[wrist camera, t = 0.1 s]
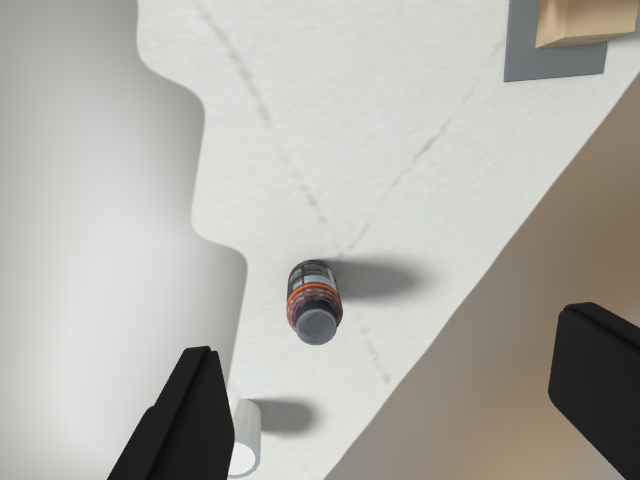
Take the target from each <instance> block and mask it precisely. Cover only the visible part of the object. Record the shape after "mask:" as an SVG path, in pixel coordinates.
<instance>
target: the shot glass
mask: <svg viewBox="0 0 640 480" xmlns="http://www.w3.org/2000/svg"><path fill="white" fill-rule="evenodd" d="M229 406H230V411H231V415H232V420H233V424H234V430H235V443H234V448H233V453H232V458H231V463H230V467H229V472H228V477H227V478H241V477H245V476H248V475H249V474H251V473H252V472H254V471H255V470H256V468H257V467H258V465H259V464H260V448H261V410H260V408H259V406H258V405H257V404H256V403H254V402H253V401H250V400H247V399H237V400H233V401H231V402H230V403H229Z"/></svg>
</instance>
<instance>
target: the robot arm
mask: <svg viewBox="0 0 640 480" xmlns="http://www.w3.org/2000/svg"><path fill="white" fill-rule="evenodd" d="M548 394H549V397H550V400H551V401H552V403H553V404H554V406H555V407H556V408H557V409H558V410H559V411H560V412H561V413H562V414H563V415H564V416H565V417H566V418H567V419H568V420H569V421H570V422H571V423H572V424H573V425H574V426H575V427H576V428H577V429H578V430H579V431H580V432H581V434H582V435H583V436H584V437H585V438H586V439H587V440H588V441H589V442H590V443H591V444H592V445H593V446H594V447H595V448H596V449H597V450H598V451H599V452H600V453H601V454H602V455H603V456H604V457H605V458H606V459H607V460H608V462H609V463H611V465H612V466H613V467H614V468H615V469H616V470H617V471H618V472H619V473H620V474H621V475H622V476H623V477H624V478H625V479H626V480H640V328H639V327H637V326H635V325H634V324H632V323H630V322H628V321H626V320H625V319H623V318H621V317H619V316H617V315H615V314H613V313H612V312H610V311H608V310H606V309H604V308H603V307H601V306H599V305H597V304H595V303H592V302H586V303H577V304H569V305H567V306H566V307H565V308H564V309H563V311H561V313H560V314H559V319H558V325H557V332H556V339H555V347H554V353H553V360H552V367H551V374H550V381H549V387H548ZM234 443H235V430H234V424H233V420H232V415H231V411H230V406H229V401H228V397H227V392H226V387H225V383H224V378H223V374H222V369H221V364H220V360H219V355H218V352H217V351H211V349H210V347H209V346H201V347H193V348H187V349H185V350H184V351H183V354H182V355H181V357H180V359H179V361H178V362H177V364H176V366H175V368H174V370H173V372H172V374H171V375H170V377H169V379H168V381H167V383H166V384H165V386H164V388H163V390H162V392H161V394H160V395H159V397H158V399H157V401H156V403H155V405H154V406H151V407H150V408H149V409H148V410H147V411H146V412H145V414H144V415H143V417H142V418H141V420H140V422H139V424H138V425H137V427H136V429H135V431H134V432H133V434H132V436H131V438H130V440H129V441H128V443H127V445H126V447H125V448H124V450H123V452H122V454H121V456H120V457H119V459H118V461H117V463H116V464H115V466H114V468H113V470H112V472H111V473H110V475H109V477H108V478H107V480H227V477H228V472H229V467H230V463H231V458H232V453H233V448H234Z"/></svg>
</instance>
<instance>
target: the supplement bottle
mask: <svg viewBox="0 0 640 480" xmlns="http://www.w3.org/2000/svg"><path fill="white" fill-rule="evenodd" d="M342 315H343V308H342V303H341V300H340V295H339V293H338V289H337V285H336V281H335V278H334V275H333V273H332V271H331V270H330V269H329V267H328V266H326V265H325V264H323V263H322V262H319V261H312V260H310V261H304V262H302V263H300V264H298V265H297V266H296V267H295V268H294V269H293V270H292V272H291V273H290V276H289V280H288V292H287V319H288V322H289V324H290V326H291V327H292V329H293V330H294V331H295V332H296V333H297V335H298V337H299V338H300V339H301V340H302V341H303V342H305V343H307V344H310V345H322V344H324V343H326V342H328V341H329V340H331V339H332V338H333V336H334V335H335V333H336V330H337V327H338V326H339V324H340V322H341V319H342Z"/></svg>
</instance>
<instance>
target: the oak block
mask: <svg viewBox="0 0 640 480" xmlns="http://www.w3.org/2000/svg"><path fill="white" fill-rule="evenodd" d="M639 2H640V0H540V6H539V16H538V26H537V36H536V46H535V49H537V48H549V47H561V46H574V45H586V44H598V43H601V42H604V41H607V40H610V39H613V38H617V37H620V36H623V35H626V34H629V33H632V32H634V30H635V24H636V19H637V13H638V7H639Z"/></svg>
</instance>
